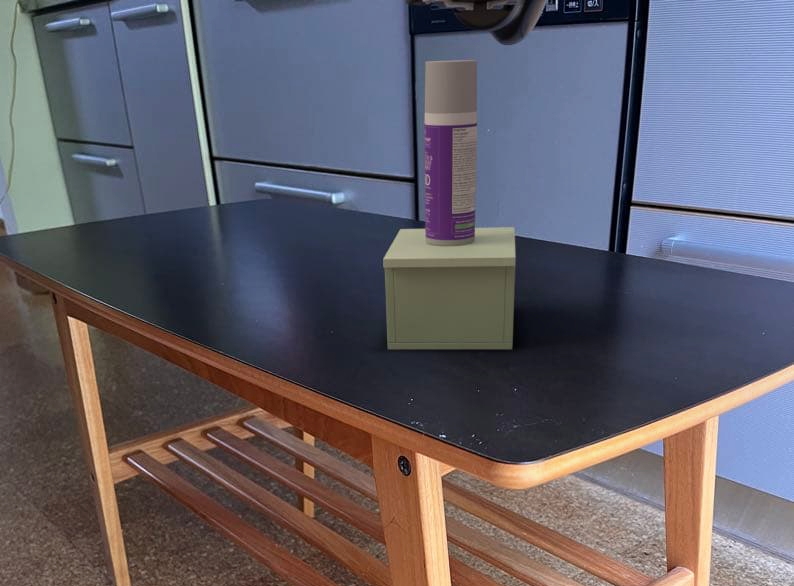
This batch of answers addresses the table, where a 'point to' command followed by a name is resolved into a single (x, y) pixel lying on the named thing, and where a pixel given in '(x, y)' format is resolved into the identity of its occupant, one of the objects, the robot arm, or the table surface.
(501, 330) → the chest
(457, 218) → the container
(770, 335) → the table surface
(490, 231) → the lid
